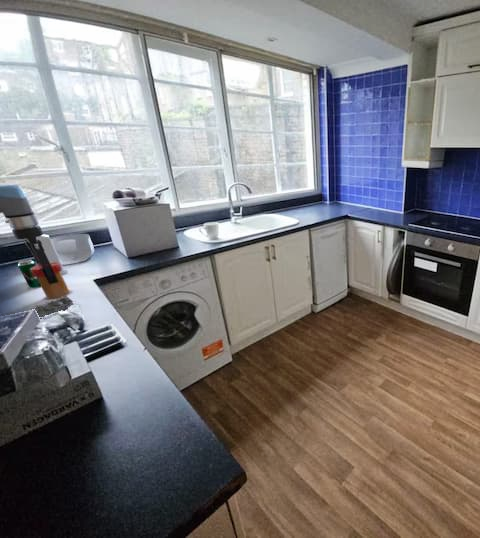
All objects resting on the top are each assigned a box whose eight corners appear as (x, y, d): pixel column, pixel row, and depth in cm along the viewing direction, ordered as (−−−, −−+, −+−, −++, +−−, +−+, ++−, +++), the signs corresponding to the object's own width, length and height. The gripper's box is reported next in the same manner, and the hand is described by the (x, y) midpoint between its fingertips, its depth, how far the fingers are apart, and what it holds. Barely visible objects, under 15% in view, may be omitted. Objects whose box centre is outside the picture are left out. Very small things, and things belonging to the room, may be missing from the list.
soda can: (45, 282, 136) (33, 258, 131) (45, 285, 133) (33, 261, 128) (29, 286, 133) (17, 261, 128) (29, 289, 129) (16, 264, 125)
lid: (59, 267, 125) (56, 260, 124) (63, 271, 120) (60, 264, 119) (31, 273, 119) (28, 267, 118) (35, 278, 114) (31, 271, 113)
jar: (45, 300, 119) (31, 272, 114) (48, 294, 124) (35, 267, 120) (68, 295, 123) (55, 268, 118) (70, 289, 128) (58, 263, 123)
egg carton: (38, 321, 105) (32, 311, 104) (33, 315, 109) (28, 305, 108) (76, 308, 113) (72, 298, 112) (70, 302, 117) (66, 293, 116)
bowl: (100, 250, 177) (93, 232, 172) (94, 260, 162) (86, 239, 157) (56, 257, 168) (47, 237, 163) (45, 268, 152) (34, 246, 148)
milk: (49, 277, 141) (27, 233, 132) (48, 274, 145) (26, 231, 136) (66, 273, 145) (46, 230, 137) (64, 270, 149) (45, 228, 140)
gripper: (7, 225, 115) (34, 277, 124) (15, 233, 104) (44, 290, 113) (34, 221, 121) (57, 271, 130) (44, 228, 109) (69, 283, 118)
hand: (51, 280), depth 121 cm, fingers closed on lid, 8 cm apart
